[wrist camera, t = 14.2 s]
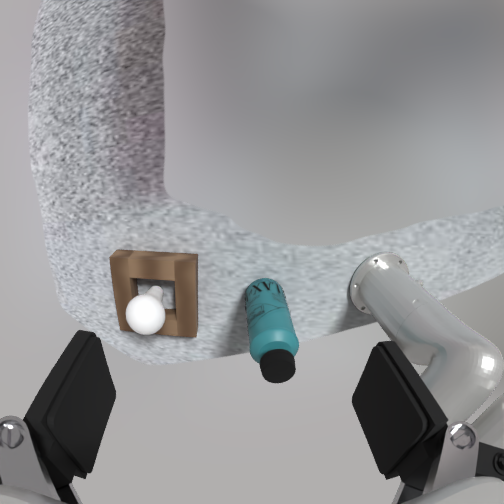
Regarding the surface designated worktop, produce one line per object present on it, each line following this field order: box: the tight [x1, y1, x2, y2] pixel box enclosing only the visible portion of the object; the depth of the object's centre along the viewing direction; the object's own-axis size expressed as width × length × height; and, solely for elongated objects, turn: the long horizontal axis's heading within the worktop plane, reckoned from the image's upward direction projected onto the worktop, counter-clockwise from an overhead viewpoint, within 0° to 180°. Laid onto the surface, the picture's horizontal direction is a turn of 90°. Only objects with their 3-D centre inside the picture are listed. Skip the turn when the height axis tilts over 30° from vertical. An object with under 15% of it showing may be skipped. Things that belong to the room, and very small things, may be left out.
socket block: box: [109, 250, 198, 337], centre depth 46 cm, size 14×14×4 cm
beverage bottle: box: [245, 278, 299, 383], centre depth 39 cm, size 6×7×20 cm
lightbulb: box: [126, 286, 165, 335], centre depth 42 cm, size 6×6×11 cm
